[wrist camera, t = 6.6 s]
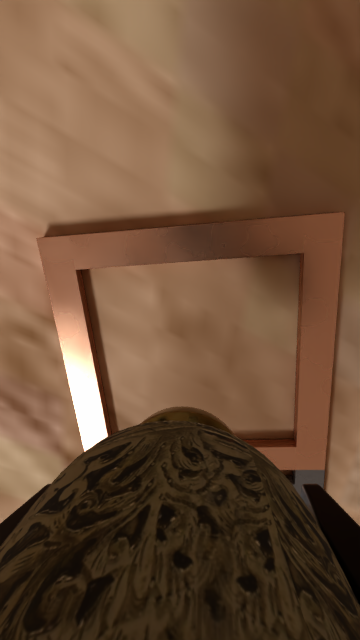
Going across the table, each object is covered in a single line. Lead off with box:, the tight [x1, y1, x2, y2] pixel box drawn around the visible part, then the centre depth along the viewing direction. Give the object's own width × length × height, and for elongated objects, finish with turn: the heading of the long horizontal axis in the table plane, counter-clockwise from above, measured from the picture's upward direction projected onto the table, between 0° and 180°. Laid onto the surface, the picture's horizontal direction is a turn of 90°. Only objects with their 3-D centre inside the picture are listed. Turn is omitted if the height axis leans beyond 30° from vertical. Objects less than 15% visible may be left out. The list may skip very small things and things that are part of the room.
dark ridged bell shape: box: [0, 407, 360, 640], centre depth 7 cm, size 8×7×8 cm
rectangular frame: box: [36, 212, 345, 496], centre depth 18 cm, size 27×13×1 cm, turn 5°
